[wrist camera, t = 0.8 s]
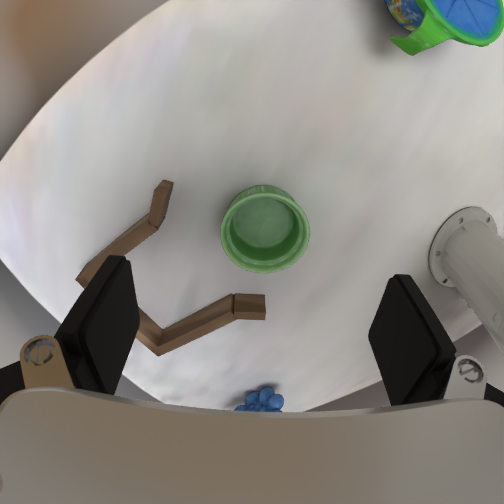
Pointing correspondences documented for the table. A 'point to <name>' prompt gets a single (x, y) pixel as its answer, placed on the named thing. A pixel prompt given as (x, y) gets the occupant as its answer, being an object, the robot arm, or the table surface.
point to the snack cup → (446, 22)
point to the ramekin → (264, 230)
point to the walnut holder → (193, 324)
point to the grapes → (262, 401)
